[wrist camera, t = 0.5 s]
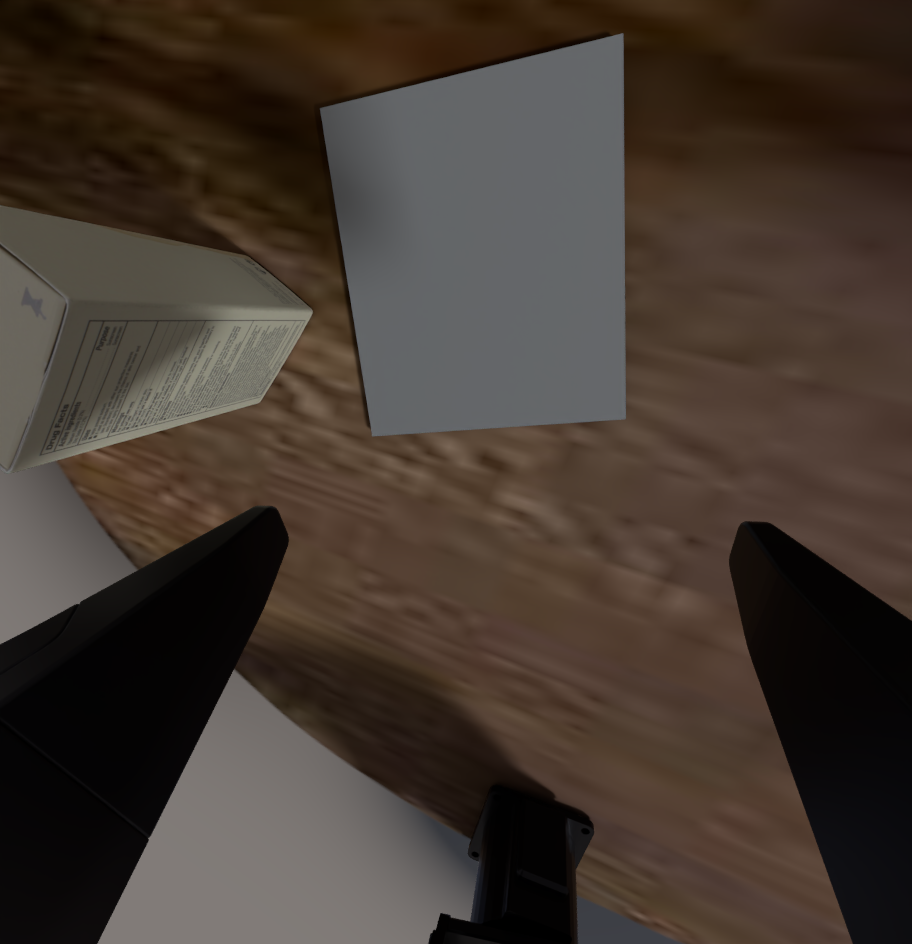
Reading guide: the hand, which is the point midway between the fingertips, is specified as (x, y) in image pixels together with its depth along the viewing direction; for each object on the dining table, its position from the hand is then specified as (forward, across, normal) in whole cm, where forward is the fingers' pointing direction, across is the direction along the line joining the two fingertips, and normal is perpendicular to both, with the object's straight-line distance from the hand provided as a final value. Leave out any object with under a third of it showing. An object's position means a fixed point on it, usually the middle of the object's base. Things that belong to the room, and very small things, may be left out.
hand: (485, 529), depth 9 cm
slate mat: (+15, +2, -2) cm, 15 cm away
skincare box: (+14, +14, 0) cm, 20 cm away
